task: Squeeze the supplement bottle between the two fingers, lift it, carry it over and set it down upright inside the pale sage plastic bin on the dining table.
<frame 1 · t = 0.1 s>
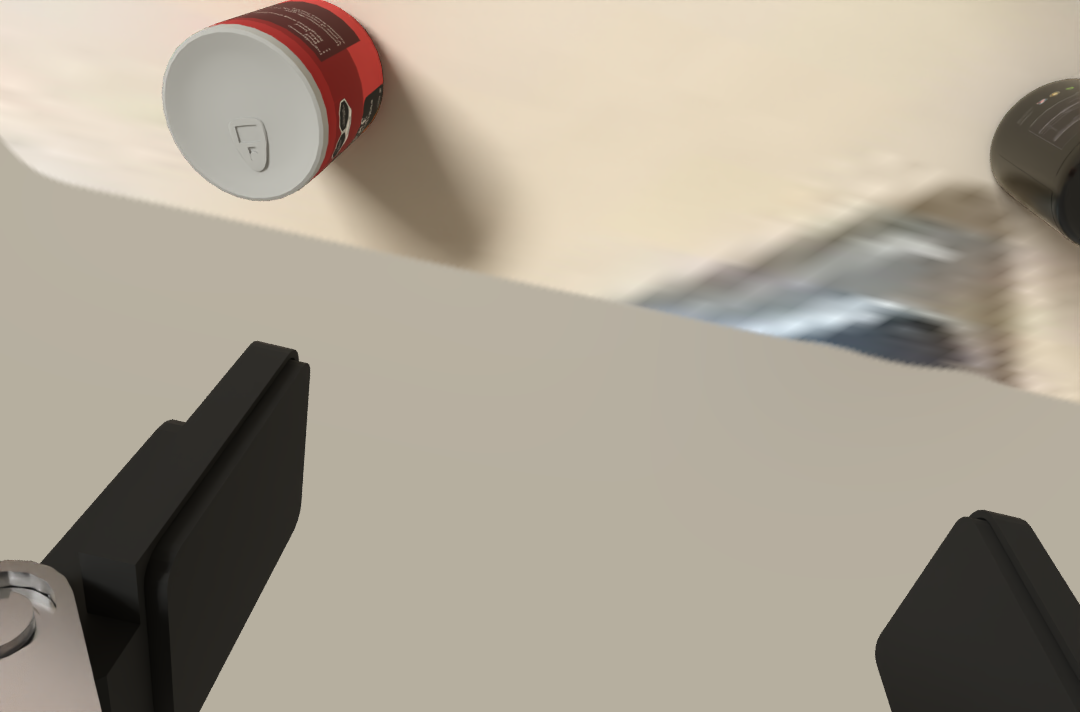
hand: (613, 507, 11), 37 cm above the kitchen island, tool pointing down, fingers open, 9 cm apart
supplement bottle: (1050, 137, 43), on the kitchen island
canned food: (323, 70, 45), on the kitchen island
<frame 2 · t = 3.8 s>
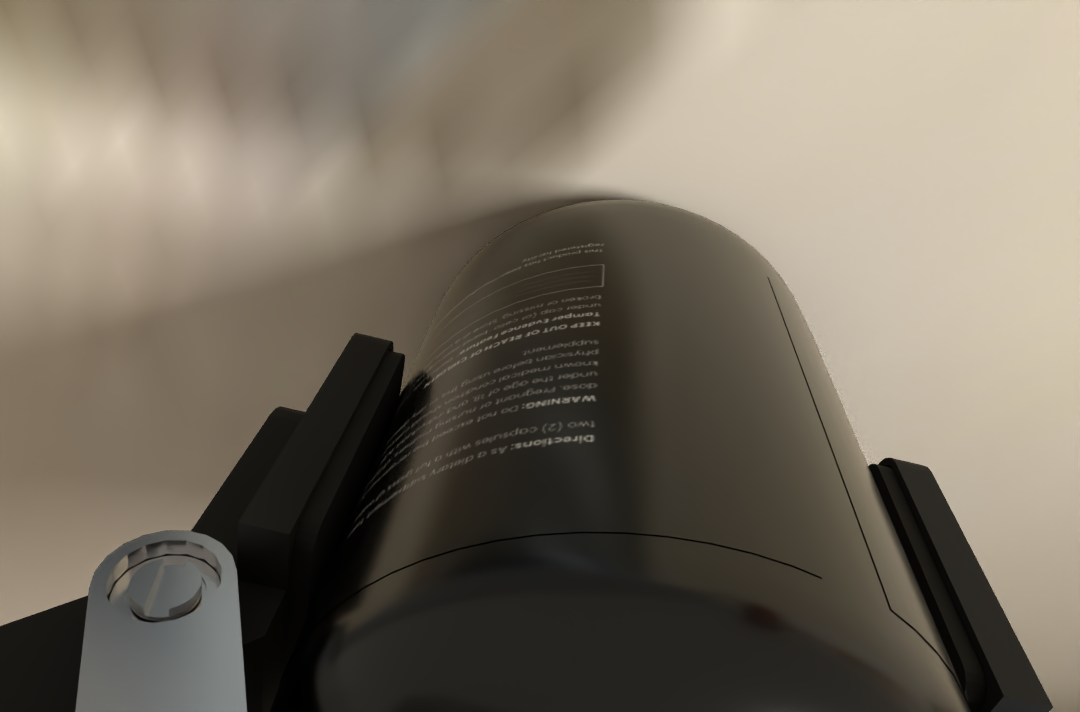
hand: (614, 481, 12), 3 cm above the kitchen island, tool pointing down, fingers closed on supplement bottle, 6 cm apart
supplement bottle: (618, 360, 15), on the kitchen island, touching gripper
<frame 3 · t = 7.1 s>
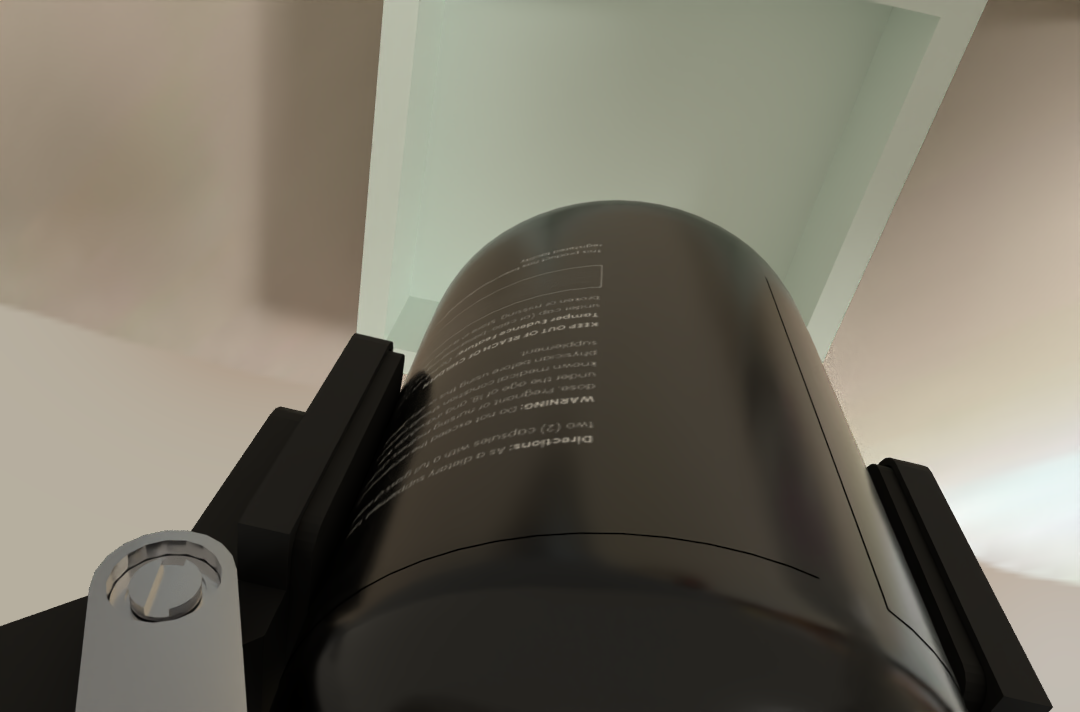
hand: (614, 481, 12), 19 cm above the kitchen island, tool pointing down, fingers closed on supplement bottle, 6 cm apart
bin: (622, 157, 29), on the kitchen island
supplement bottle: (616, 360, 15), point 16 cm above the kitchen island, touching gripper
when the fingers open (6 cm above the kitchen island, at t = 10.4 s): supplement bottle drops 1 cm, resting on bin.
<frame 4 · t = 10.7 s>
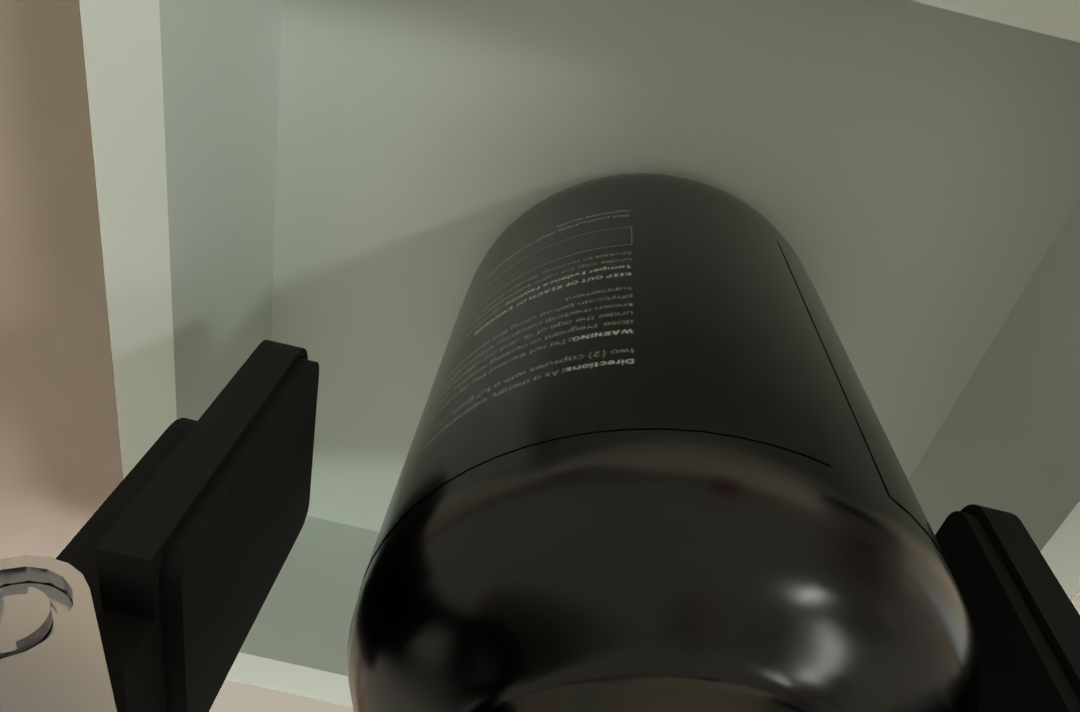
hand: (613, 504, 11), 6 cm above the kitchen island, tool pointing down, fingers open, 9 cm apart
bin: (617, 306, 17), on the kitchen island
supplement bottle: (637, 326, 16), point 1 cm above the kitchen island, touching bin
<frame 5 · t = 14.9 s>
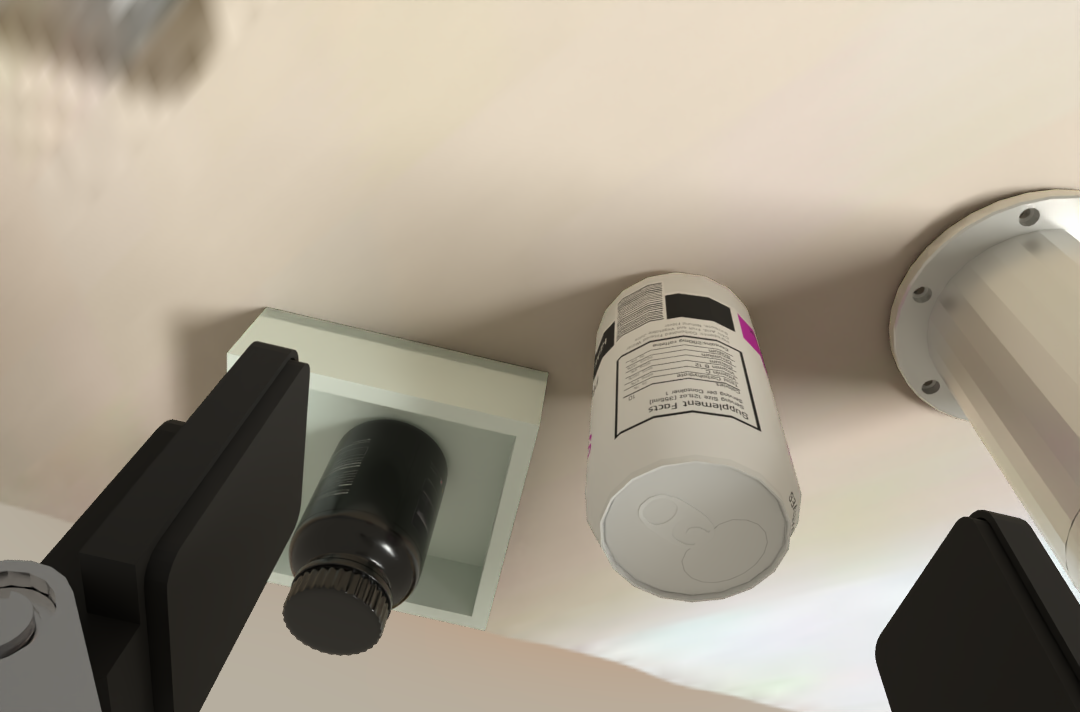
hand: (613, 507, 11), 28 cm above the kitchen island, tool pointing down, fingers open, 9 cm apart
supplement can: (673, 335, 42), on the kitchen island
bin: (392, 450, 48), on the kitchen island
supplement bottle: (395, 459, 47), point 1 cm above the kitchen island, touching bin
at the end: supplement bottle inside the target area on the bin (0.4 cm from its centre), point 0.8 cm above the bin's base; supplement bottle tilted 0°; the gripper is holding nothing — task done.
